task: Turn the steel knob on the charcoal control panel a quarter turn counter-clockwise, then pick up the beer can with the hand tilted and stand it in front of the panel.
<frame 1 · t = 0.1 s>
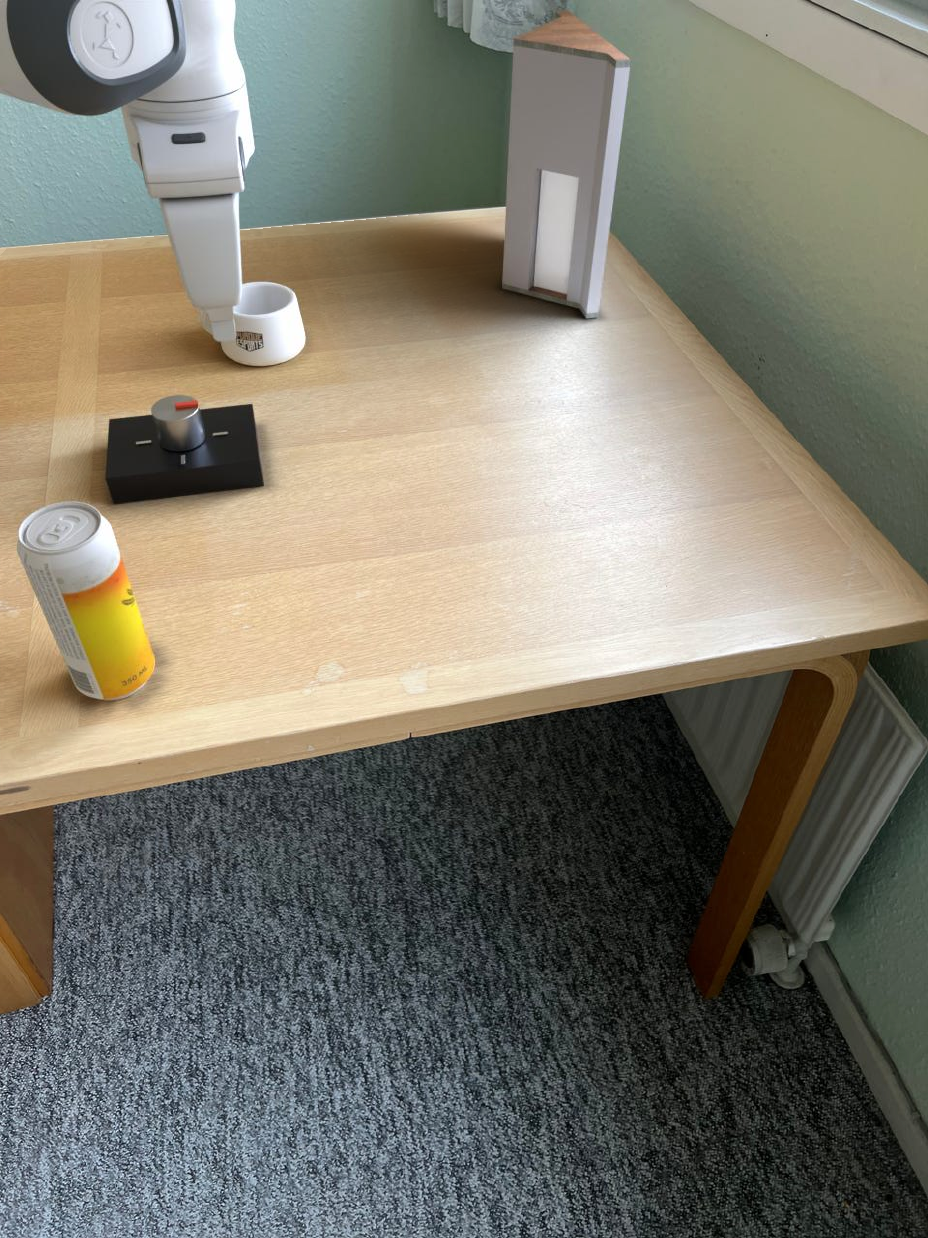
hand: (222, 308, 76), 18 cm above the table, tool pointing down, fingers open, 8 cm apart
panel: (188, 464, 91), on the table
knob: (178, 421, 87), point 5 cm above the table, hinge at 0.0°
mug: (255, 348, 107), on the table
cabinet: (536, 284, 120), on the table
beer can: (117, 677, 72), on the table
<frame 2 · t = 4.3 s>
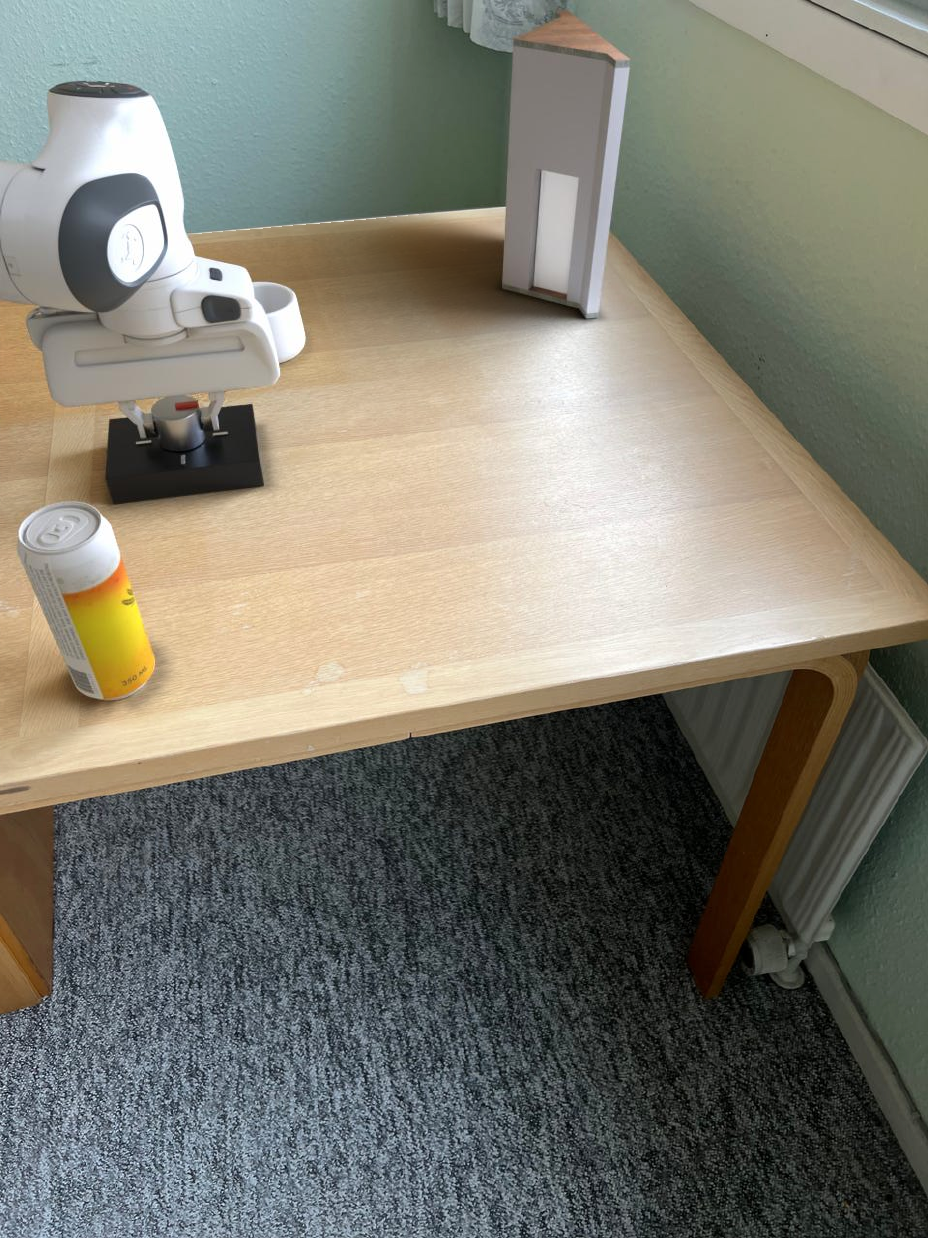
hand: (181, 431, 88), 4 cm above the table, tool pointing down, fingers closed on knob, 4 cm apart
knob: (178, 421, 87), point 5 cm above the table, hinge at 0.1°, touching gripper
everything else where it was.
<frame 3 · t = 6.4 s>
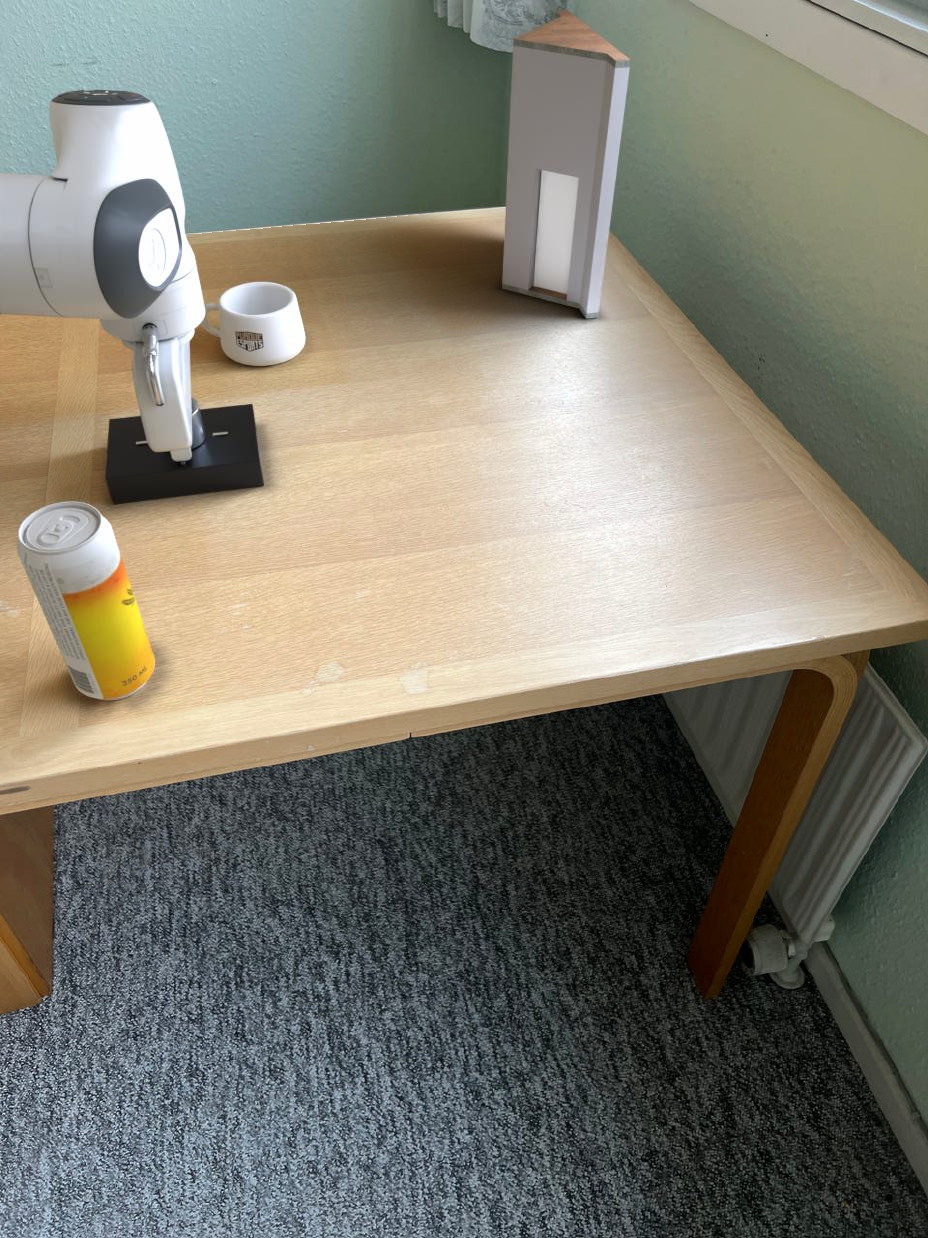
hand: (182, 435, 89), 3 cm above the table, tool pointing down, fingers open, 5 cm apart
knob: (178, 421, 87), point 5 cm above the table, hinge at 93.9°
everything else where it was.
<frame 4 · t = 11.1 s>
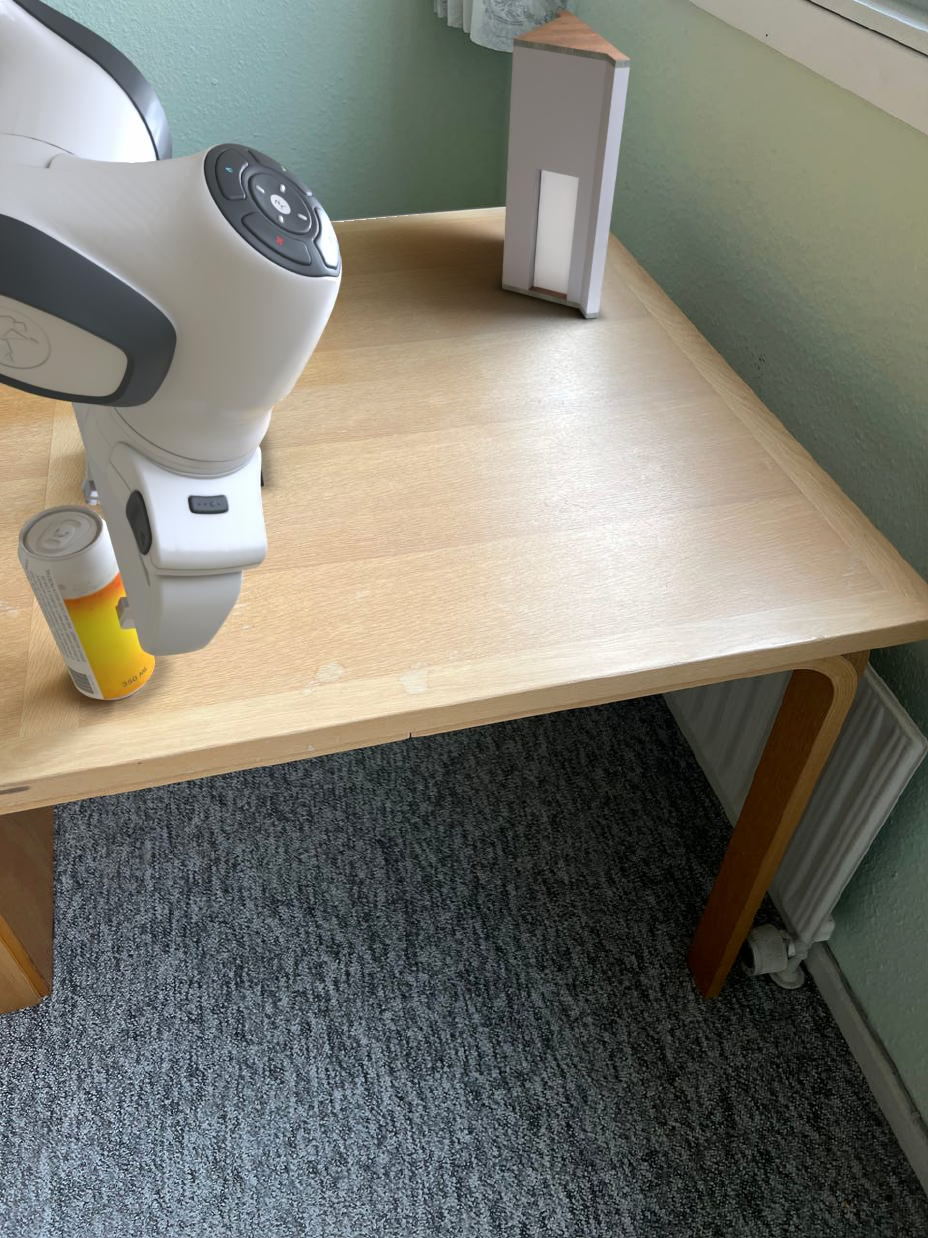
hand: (112, 556, 61), 13 cm above the table, tool tilted 30°, fingers open, 8 cm apart
beer can: (117, 676, 71), on the table, touching gripper
everything else where it was.
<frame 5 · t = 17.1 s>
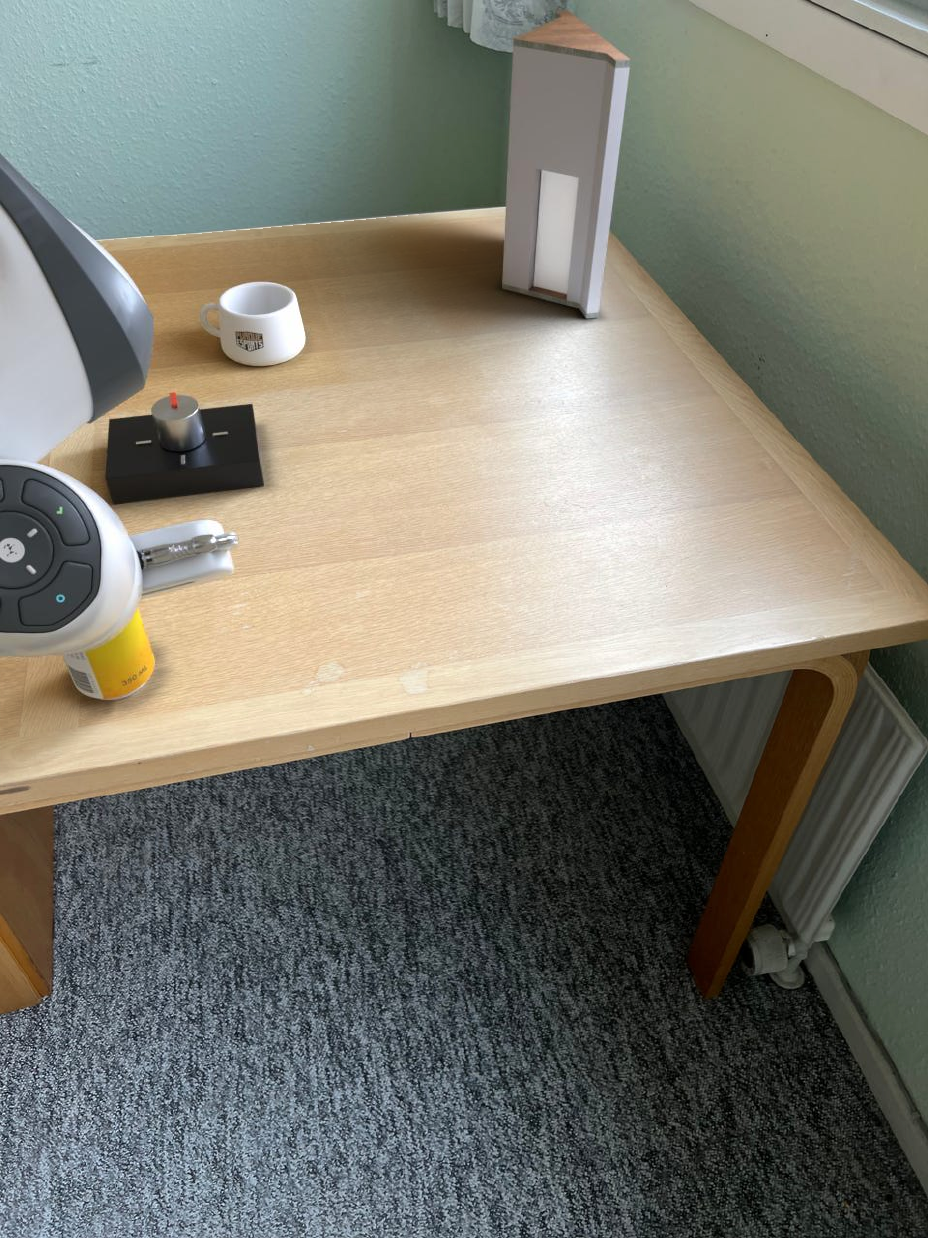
hand: (85, 592, 66), 8 cm above the table, tool tilted 45°, fingers closed on beer can, 6 cm apart
beer can: (117, 677, 72), on the table, touching gripper
everything else where it was.
when the fingers open (8 cm above the table, at t = 25.5 s): beer can stays where it is, on the table.
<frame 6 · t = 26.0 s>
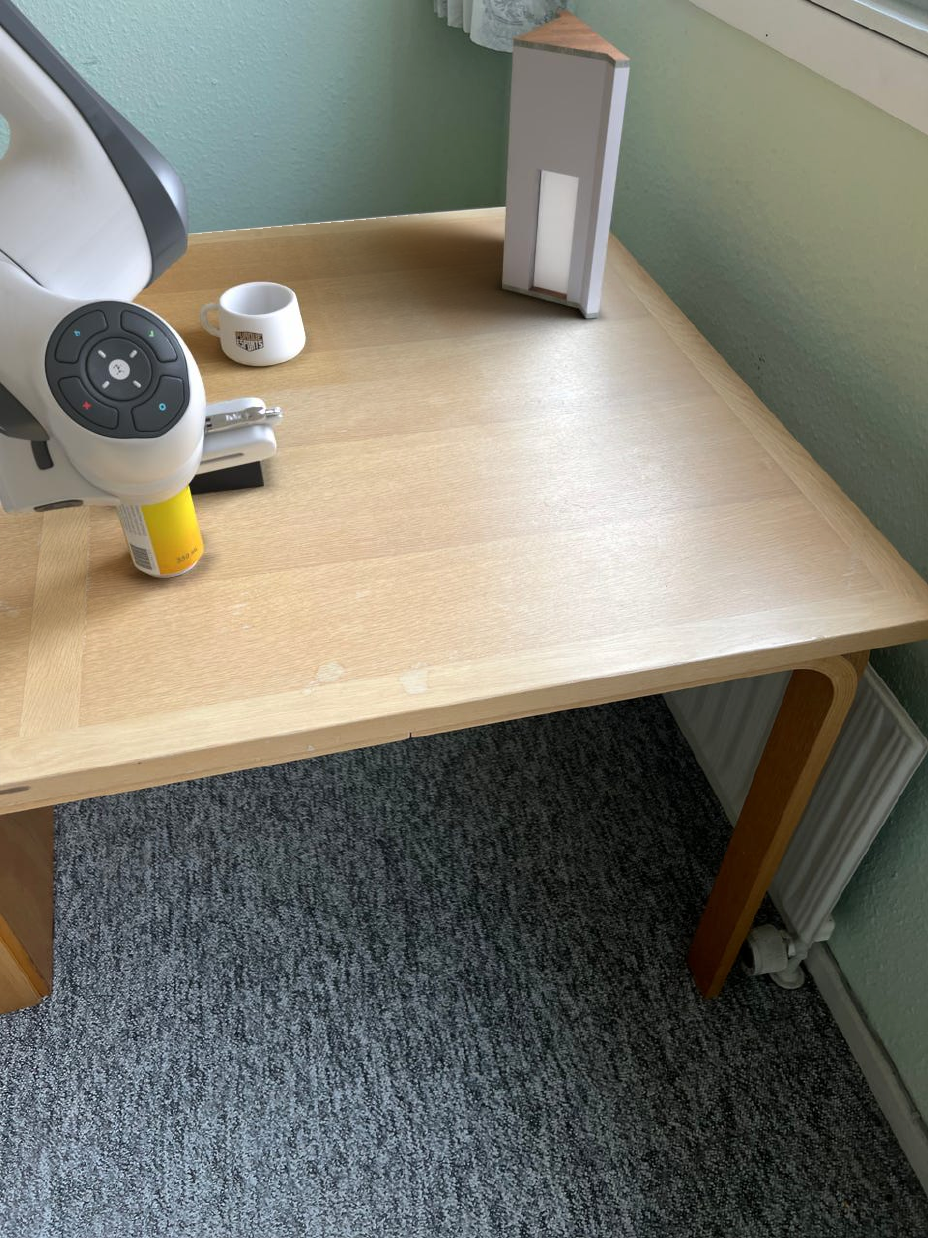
hand: (144, 474, 75), 9 cm above the table, tool tilted 45°, fingers open, 8 cm apart
beer can: (170, 560, 81), on the table
everything else where it was.
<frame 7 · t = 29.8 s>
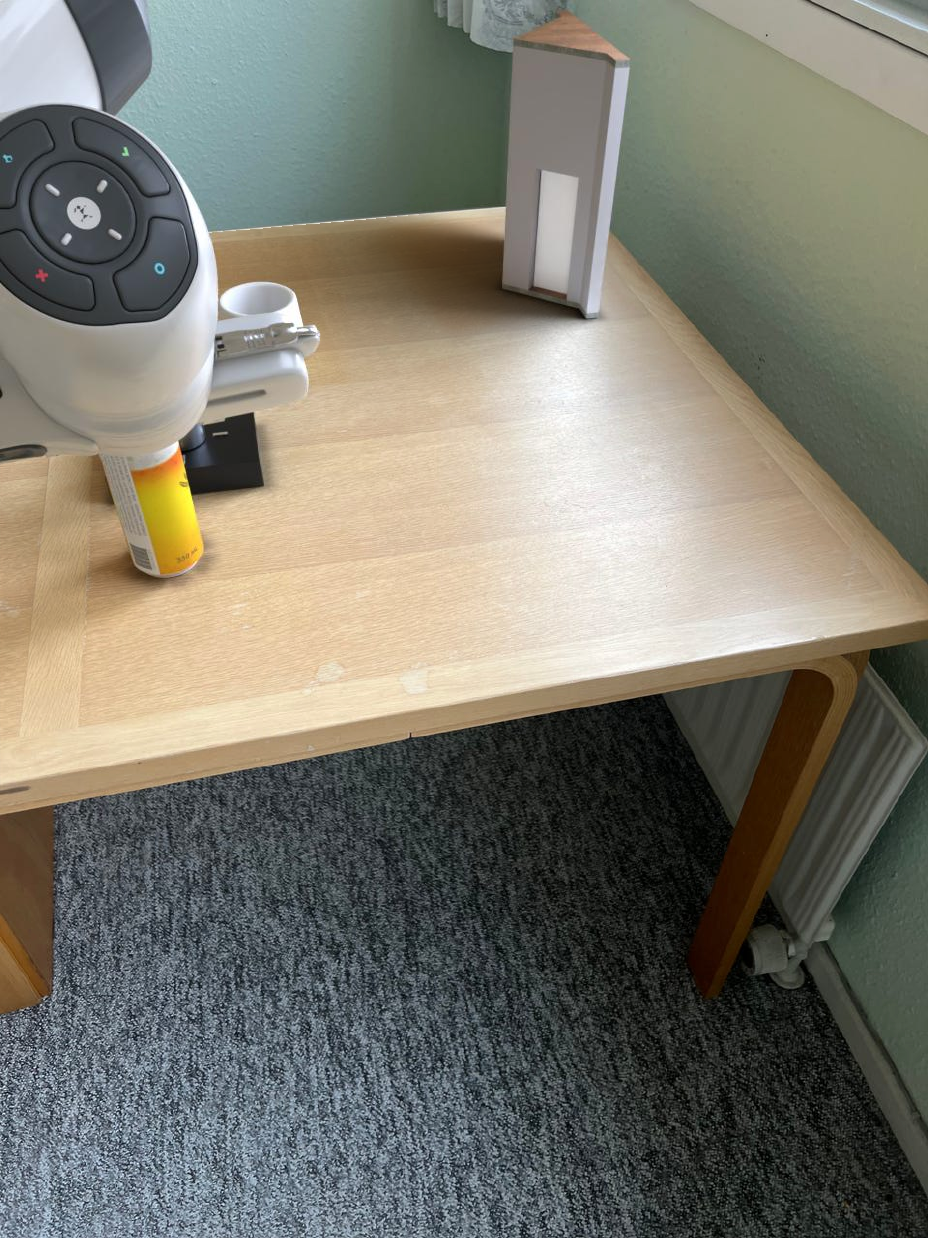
hand: (134, 426, 58), 21 cm above the table, tool tilted 45°, fingers open, 8 cm apart
nothing on the table moved.
at the end: knob at +94° (first picture: +0°); beer can inside the target area on the table beside the panel (0.9 cm from its centre), on the table; beer can tilted 0° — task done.
